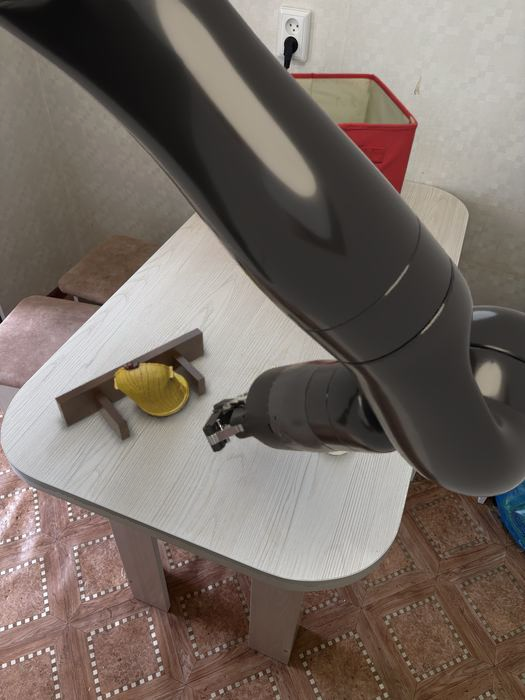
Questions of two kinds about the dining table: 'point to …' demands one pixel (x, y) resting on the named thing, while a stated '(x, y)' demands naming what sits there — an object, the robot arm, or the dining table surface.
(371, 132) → the storage cube
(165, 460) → the dining table surface
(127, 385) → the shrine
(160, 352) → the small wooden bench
